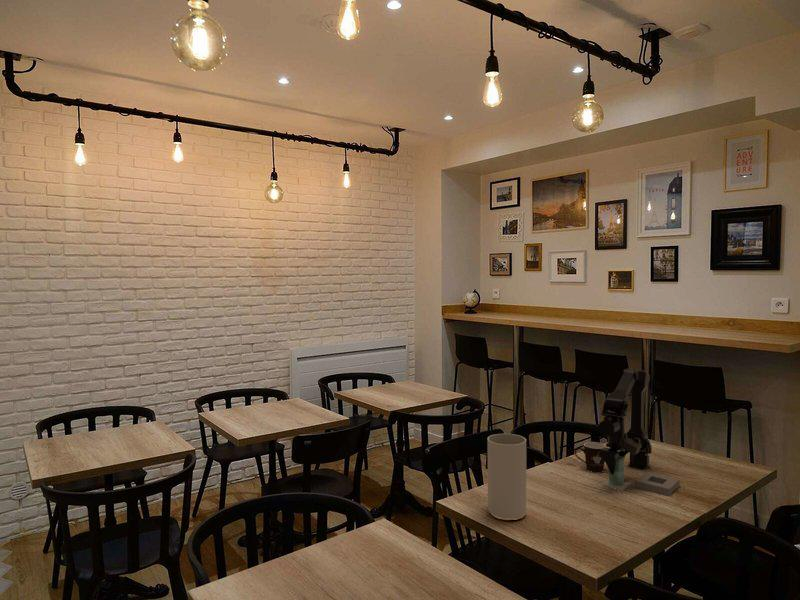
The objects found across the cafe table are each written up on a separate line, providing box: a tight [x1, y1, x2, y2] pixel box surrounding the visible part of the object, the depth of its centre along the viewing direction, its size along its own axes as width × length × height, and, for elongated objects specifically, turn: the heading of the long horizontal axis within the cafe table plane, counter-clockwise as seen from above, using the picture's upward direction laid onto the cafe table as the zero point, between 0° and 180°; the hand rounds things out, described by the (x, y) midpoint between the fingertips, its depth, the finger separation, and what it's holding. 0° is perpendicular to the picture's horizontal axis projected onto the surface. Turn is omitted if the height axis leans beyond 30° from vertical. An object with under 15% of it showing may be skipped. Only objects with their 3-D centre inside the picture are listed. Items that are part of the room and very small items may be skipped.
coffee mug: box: [574, 441, 607, 473], centre depth 222 cm, size 12×9×10 cm
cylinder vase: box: [487, 433, 528, 518], centre depth 181 cm, size 12×12×25 cm
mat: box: [600, 478, 632, 491], centre depth 205 cm, size 8×8×1 cm
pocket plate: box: [633, 471, 681, 497], centre depth 202 cm, size 12×12×2 cm
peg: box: [608, 456, 625, 486], centre depth 205 cm, size 4×4×10 cm
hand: (616, 471), depth 205 cm, fingers open, 6 cm apart
